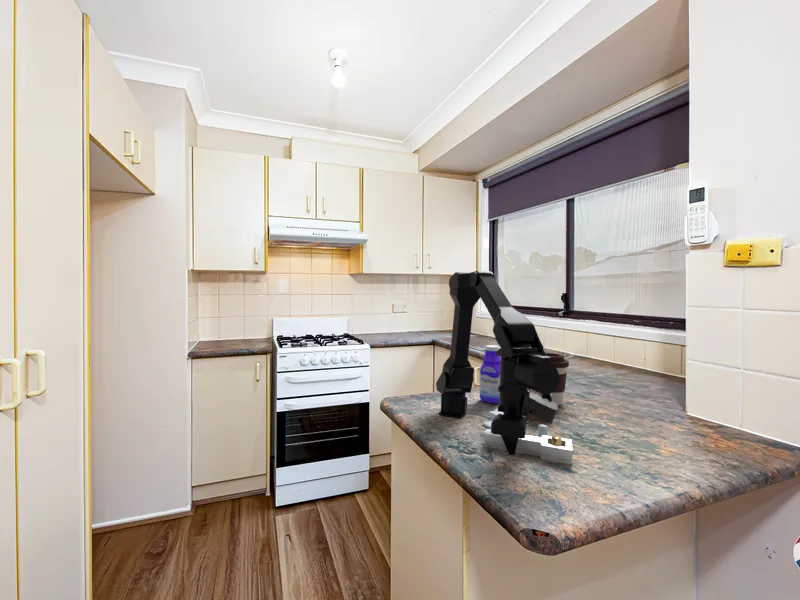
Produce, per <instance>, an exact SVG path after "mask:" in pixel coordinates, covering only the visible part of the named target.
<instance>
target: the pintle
mask: <svg viewBox="0 0 800 600" xmlns="http://www.w3.org/2000/svg"><path fill="white" fill-rule="evenodd" d="M551 436H552V441H551V445H557V446H562V438H563V437H561V436H560V435H559V436H558V435H551Z"/></svg>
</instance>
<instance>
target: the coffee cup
mask: <svg viewBox="0 0 800 600" xmlns="http://www.w3.org/2000/svg"><path fill="white" fill-rule="evenodd" d="M545 356H548V357H550V358H551V364H552V365H554V366H555V367H556V368H557V370H558V373H559V375H560V381H559V384H558V387H557V388H556V389H555V391H554V392H552V393H550V394H552V402H556V404H557V405H558V406H561V405H563V402H564V396H565V391H566V382H567V369H568V367H569V365H570V361H569V360H568V359H565V356H564V355H563V354H560V353H551V352H545Z"/></svg>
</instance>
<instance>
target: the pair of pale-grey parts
mask: <svg viewBox="0 0 800 600" xmlns="http://www.w3.org/2000/svg"><path fill="white" fill-rule="evenodd" d="M503 413H504V412H498V408H494V409H493V410H492V411H489V413H488V416H489V417H491V418H493V419H494V417H495V416H497V415H498V414H503ZM523 417H525V418H526V416H523ZM492 421H493V420H490V421H484V422H482V426H484V427H485V428H487V429H491V423H492ZM537 429H538V430H537V437H542V435H546V436H548V425H545V424H542V423H541V424H538V428H537Z"/></svg>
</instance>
